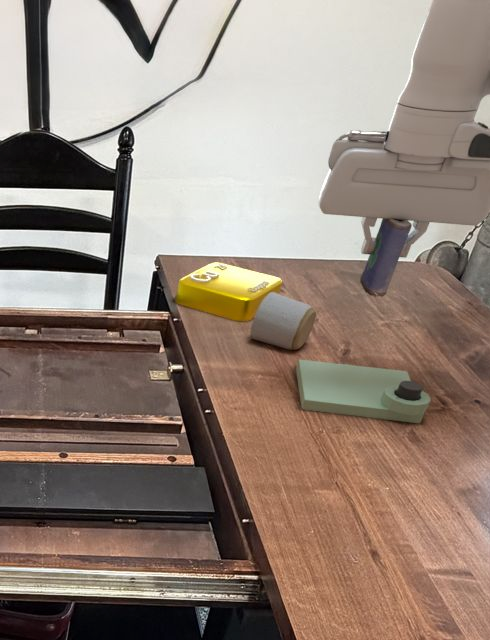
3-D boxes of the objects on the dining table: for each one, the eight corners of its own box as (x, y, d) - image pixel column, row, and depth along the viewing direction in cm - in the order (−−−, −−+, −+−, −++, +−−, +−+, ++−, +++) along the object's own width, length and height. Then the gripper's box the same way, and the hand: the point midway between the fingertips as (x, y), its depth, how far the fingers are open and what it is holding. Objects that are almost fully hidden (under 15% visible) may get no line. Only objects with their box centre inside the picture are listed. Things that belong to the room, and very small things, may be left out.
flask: (386, 298, 95) (420, 210, 88) (363, 296, 96) (394, 208, 88) (379, 276, 102) (409, 192, 94) (357, 274, 102) (385, 190, 95)
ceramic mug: (292, 358, 116) (307, 310, 111) (245, 344, 120) (257, 298, 114) (316, 339, 122) (331, 293, 117) (270, 326, 126) (283, 281, 121)
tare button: (415, 393, 101) (421, 381, 99) (419, 403, 98) (425, 391, 97) (393, 390, 101) (398, 379, 100) (396, 400, 99) (401, 388, 98)
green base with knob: (405, 383, 110) (414, 361, 108) (423, 429, 99) (434, 407, 97) (295, 370, 113) (301, 349, 110) (301, 414, 102) (308, 392, 100)
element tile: (244, 325, 126) (251, 298, 123) (170, 304, 133) (175, 277, 130) (280, 302, 134) (287, 276, 131) (209, 283, 141) (214, 258, 138)
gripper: (339, 133, 86) (304, 254, 95) (524, 144, 83) (469, 269, 92) (334, 124, 90) (301, 241, 100) (509, 134, 87) (458, 254, 96)
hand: (383, 254), depth 96 cm, fingers closed on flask, 3 cm apart
